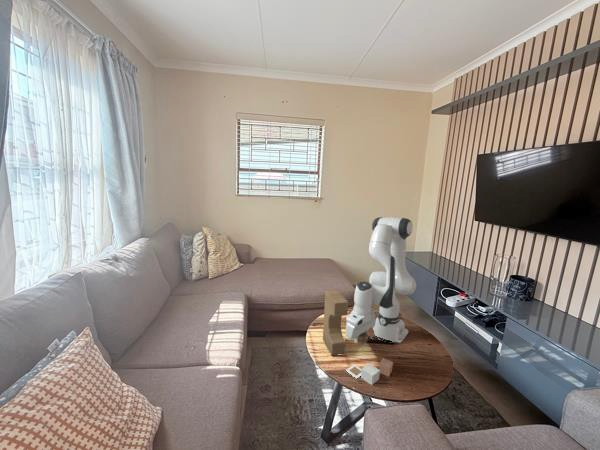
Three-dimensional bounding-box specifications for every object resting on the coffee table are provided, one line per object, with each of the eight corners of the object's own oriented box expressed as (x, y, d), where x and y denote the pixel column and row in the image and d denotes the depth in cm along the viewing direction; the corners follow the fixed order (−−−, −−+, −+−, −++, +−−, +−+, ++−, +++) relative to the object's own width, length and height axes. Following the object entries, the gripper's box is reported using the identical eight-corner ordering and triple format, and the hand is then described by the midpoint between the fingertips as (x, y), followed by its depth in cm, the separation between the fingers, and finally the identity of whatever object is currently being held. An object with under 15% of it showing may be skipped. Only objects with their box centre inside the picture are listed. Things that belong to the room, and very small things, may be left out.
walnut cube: (359, 337, 142) (359, 329, 141) (367, 342, 138) (367, 333, 137) (353, 341, 139) (353, 332, 138) (361, 346, 135) (361, 337, 134)
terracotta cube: (382, 366, 137) (382, 357, 136) (392, 370, 134) (393, 361, 133) (378, 372, 133) (379, 363, 132) (389, 376, 130) (390, 367, 129)
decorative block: (344, 354, 145) (348, 302, 139) (331, 356, 143) (334, 303, 138) (334, 338, 159) (337, 290, 154) (322, 339, 157) (325, 290, 152)
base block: (368, 372, 133) (369, 363, 132) (379, 379, 128) (379, 370, 127) (360, 378, 129) (361, 368, 128) (371, 385, 124) (372, 375, 123)
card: (354, 364, 137) (354, 363, 137) (365, 372, 132) (365, 371, 132) (345, 371, 133) (345, 369, 133) (356, 379, 127) (356, 378, 127)
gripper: (369, 305, 144) (367, 328, 147) (343, 318, 131) (342, 344, 134) (379, 310, 139) (377, 334, 142) (354, 324, 126) (352, 350, 129)
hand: (360, 339), depth 138 cm, fingers closed on walnut cube, 5 cm apart
